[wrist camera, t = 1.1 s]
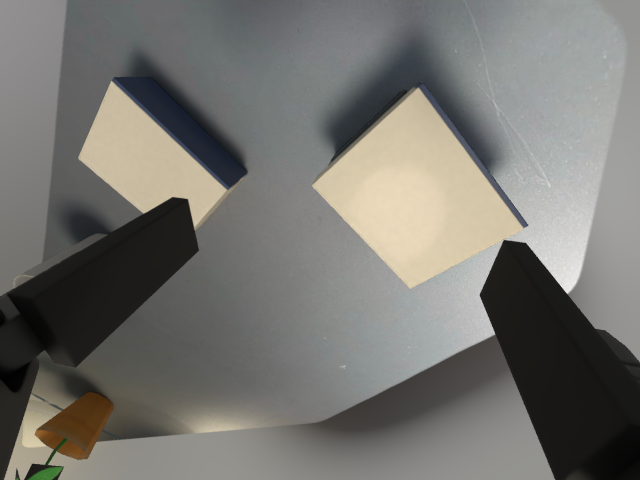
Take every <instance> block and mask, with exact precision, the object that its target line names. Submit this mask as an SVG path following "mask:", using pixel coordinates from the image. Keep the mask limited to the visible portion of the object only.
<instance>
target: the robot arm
mask: <svg viewBox="0 0 640 480" xmlns="http://www.w3.org/2000/svg"><path fill="white" fill-rule="evenodd" d="M198 251H199V248H198V244H197V239H196V234H195V229H194V225H193V220H192V215H191V211H190V206H189V201H188V199H185V198H177V197H172V198H170V199H168V200H167V201H165V202H163V203H161V204H160V205H158V206H156V207H155V208H153V209H151V210H149V211H148V212H146V213H144V214H143V215H141V216H139V217H137V218H136V219H134V220H132V221H131V222H129V223H127V224H125V225H124V226H122V227H120V228H119V229H117V230H115V231H113V232H112V233H110V234H108V235H107V236H105V237H103V238H101V239H100V240H98V241H96V242H95V243H93V244H91V245H89V246H88V247H86V248H84V249H83V250H81V251H79V252H76V253H74V254H72V255H71V256H69V257H67V258H66V259H64V260H62V261H60V263H57V264H55V265H53V266H52V267H50V268H48V270H47V271H43V272H41V273H40V274H38V275H36V276H35V277H33V278H31V279H29V280H28V281H26V282H24V283H22V284H21V285H19V286H17V287H16V288H14V289H12V290H10V291H9V292H7V293H5V294H3V295H2V296H0V480H4V477H5V474H6V471H7V468H8V465H9V461H10V458H11V455H12V452H13V449H14V446H15V442H16V439H17V436H18V433H19V430H20V426H21V423H22V420H23V417H24V414H25V411H26V407H27V404H28V401H29V398H30V395H31V391H32V388H33V385H34V382H35V379H36V375H37V372H38V369H39V361H38V359H37V358H36V356H37V355H39V354H40V353H41V352H42V351H44V350H46V352H47V353H48V354H49V356H50V357H51V359H52V360H53V362H54V363H58V364H62V365H67V366H71V367H75V368H76V367H77V366H78V365H79V364H80V363H81V362H82V361H83V360H84V359H85V358H86V357H87V356H88V355H89V354H90V353H91V352H92V351H94V350H95V349H96V348H97V347H98V346H99V345H100V344H101V343H102V342H103V341H104V340H105V339H106V338H107V337H108V336H109V335H110V334H111V333H112V332H114V331H115V330H116V329H117V328H118V327H119V326H120V325H121V324H122V323H123V322H124V321H125V320H126V319H127V318H128V317H129V316H130V315H131V314H133V313H134V312H135V311H136V310H137V309H138V308H139V307H140V306H141V305H142V304H143V303H144V302H145V301H146V300H147V299H148V298H149V297H150V296H152V295H153V294H154V293H155V292H156V291H157V290H158V289H159V288H160V287H161V286H162V285H163V284H164V283H165V282H166V281H167V280H168V279H169V278H170V277H172V276H173V275H174V274H175V273H176V272H177V271H178V270H179V269H180V268H181V267H182V266H183V265H184V264H185V263H186V262H187V261H188V260H189V259H191V258H192V257H193V256H194V255H195V254H196V253H197V252H198ZM480 297H481V300H482V302H483V305H484V307H485V310H486V312H487V314H488V317H489V319H490V322H491V324H492V327H493V329H494V331H495V334H496V336H497V339H498V341H499V343H500V346H501V349H502V351H503V353H504V356H505V358H506V361H507V363H508V366H509V368H510V370H511V373H512V375H513V378H514V380H515V382H516V385H517V388H518V390H519V392H520V395H521V397H522V400H523V402H524V405H525V407H526V409H527V412H528V414H529V417H530V419H531V422H532V424H533V426H534V429H535V431H536V434H537V436H538V439H539V441H540V444H541V446H542V448H543V451H544V453H545V456H546V458H547V460H548V463H549V465H550V468H551V470H552V473H553V475H554V478H555V480H640V362H639V361H638V360H637V359H636V357H635V356H634V355H633V354H632V353H631V352H630V350H628V348H627V347H626V346H625V345H623V344H622V343H621V342H619V341H618V340H617V339H616V338H614V337H613V336H612V335H610V334H609V333H608V332H606V331H605V330H599V329H595V328H594V327H593V326H592V324H591V323H590V322H589V321H588V319H587V318H586V317H585V316H584V314H583V313H582V312H581V311H580V309H579V308H578V307H577V306H576V304H575V303H574V302H573V301H572V299H571V298H570V297H569V296H568V295H567V293H566V292H565V291H564V290H563V288H562V287H561V286H560V285H559V283H558V282H557V281H556V280H555V278H554V277H553V276H552V275H551V273H550V272H549V271H548V270H547V268H546V267H545V266H544V265H543V263H542V262H541V261H540V260H539V259H538V257H537V256H536V255H535V254H534V252H533V251H532V250H531V249H530V247H529V246H528V245H527V244H526V243H522V242H515V241H507V240H504V241H503V243H502V246H501V248H500V250H499V252H498V255H497V257H496V259H495V261H494V264H493V266H492V268H491V271H490V273H489V275H488V277H487V280H486V282H485V284H484V286H483V289H482V291H481V293H480Z"/></svg>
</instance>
